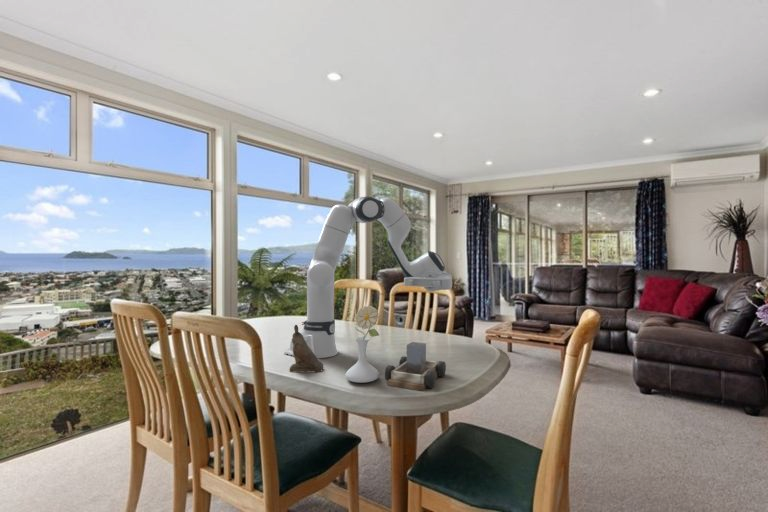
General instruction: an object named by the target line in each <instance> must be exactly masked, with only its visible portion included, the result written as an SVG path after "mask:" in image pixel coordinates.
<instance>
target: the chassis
mask: <svg viewBox="0 0 768 512" xmlns="http://www.w3.org/2000/svg"><path fill="white" fill-rule="evenodd" d="M398 364H399V365H398V366H397V367H395V366H394V365H391V364H388V365H387V366H386V367H385V371H384V379H385V381H386V382H387V386H390V387H391V386H392V387H396V388H403V389H409V390H413V391H414V390H415V391H420V392H421V391H422V392H425V390H427V388H430V389H433V388H434V386H435V383H436V379H437V378H438V377H443V378H444V377H445V375H446V372H447V371H446V370H447V367H446V366H447V365H446V362H445V361H443V360H438V361H435V360H427V359H426V371H425V372H424V373H423V374H422V375H419V374H412V373H407V356H405V355H403V356H401V357H400V358H399V363H398Z"/></svg>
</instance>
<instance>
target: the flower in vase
mask: <svg viewBox="0 0 768 512" xmlns="http://www.w3.org/2000/svg"><path fill="white" fill-rule="evenodd" d="M379 318H380V316H379V310H378V309H377V308H376V307H374V306H371V305H367V306H363V307H362V308H361V307H360V308H359V310H358V311H357V312H356V314H355V316H354V319H355V324H356V326H357V327H359V328H362V329H363V330H367V329H368V330H367V331H366V334H365V333H364V331H361V330H360V329H358V328H357V327H356V326H355V330H356V331H358V332H360V333H361V334H363V335H364V336H357V337H355V338H354V340H355V341H356V344H357V347H358V360H357V361H356V363H355V364H353V365H352V366H351V367H349V369H347V371H346V372H345V374H344V377H345V378H346V380H348V381H350V382H353V383H358V384H359V383H363V384H364V383H365V384H366V383H370V382H374V381H375V380H377V379H379V378H380V375H381V373H380V372H379V370H377V368H375V367H374V366H373V365H372V364H370V363H369V362H368V360H367V356H366V355H367V347H368V346H367V345H368V343H369V341H370V340H371V337H377V336H380V334H379V332H378V331H377V330H376V329H375V328H372V327H374V326H375V325H376V323H377V322H378V320H379ZM371 328H372V329H371ZM368 334H369V336H370V337H368V336H367V335H368Z"/></svg>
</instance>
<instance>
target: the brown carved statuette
mask: <svg viewBox="0 0 768 512" xmlns="http://www.w3.org/2000/svg"><path fill="white" fill-rule="evenodd" d="M293 329H294V332H293V334H292V338H291V340H292V342H293V354H294V356H293V357H294V360H295V362H294V363H293V364H292V365H290V367H289V371H321V370H323V371H324V369H323V368H324V364H323V363H322V361H320V359H319V358H317V357H316V356H315V354H314V353H313V352H312V350H311V349H310V348H309V347H308V345H307V343H306V341H305V339H304V337H303V335H302V334H301V333H299V332H300V331H299V326H298V325H297V324H295V325H294V327H293ZM321 372H322V371H321Z"/></svg>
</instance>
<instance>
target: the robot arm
mask: <svg viewBox="0 0 768 512" xmlns="http://www.w3.org/2000/svg"><path fill="white" fill-rule="evenodd" d="M375 221H378V222H380V224H382V225H381V226H383V228H384V229H385V230H386V233H387V235H388V237H387V244H388V247H389V248H390V251H391V252H392V255H393V256H394V258H395V260H396V262H397V264H398V266H399V267H400V269H401V271H402V274H403V275H404V278H403V286H405V287H422V288H424V289H425V290H426V291H428V292H436V291H441V290H442V291H443V290H446V291H447V290H452V288H453V276H452V274H450V273H448V271H446V269H445V268H446V267H445V266H446V265H445V263H444V260H443V259H442V258H441V256H440V254H438V253H436V252H434V251H427V252H425V253H423V254H422V255H421V256H419V257H417V258H415V259H413V261H409V259H408V258H407V256H406V255H405V252H404V251H403V249H402V244H403V243H404V241H405V240H406V238H407V237H408V235H409V234H410V232H411V226H412V223H411V219H409V216H408V215H407V214H406V213H405V212H404V210H403V208H401V207H400V206H399V205H398V203H397V202H396V201H394V200H393V199H392V198H391V197H389V196H387V197H382V198H380V199H377V198H375V197H373V196H360V197H357V198H355V199H353V200H351V201H350V202H349V203H348V204H347V205H344V204H341V203H340V204H335V205H334V206H332V207H331V209H330V211H329V213H327V216H326V219H325V221H324V224H323V226H322V229H321V232H320V235H319V237H318V241H317V243H316V246H315V248H314V252H313V255H312V258H311V260H310V263H309V265H308V268H307V270H306V320H305V321H302V322H301V326H303V329H302V330H300V331H298V332H299V333H301V334H302V335H303V337H304V339H305V341H306V343H307V345H308V347H309V348H310V349H311V350H312V352H313V353H314V354H315V356H316V357H317V358H318V359H325V358H331V357H333V356H336V355H337V354H338V353H339V352H338V348H337V343H336V337H335V332H336V331H335V329H336V319H335V317H334V316H335V306H334V305H335V303H334V302H335V272H336V269H337V266H338V263H339V261H340V258H341V256H342V254H343V251H344V249H345V245H346V243H347V240H348V238H349V234H350V230H351V228H352V226H353V225H354V223H356V224H357V223H358V224H359V223H361V224H366V223H367V224H368V223H372V222H375ZM283 353H284V355H287V354H288V355H289V356H291V355H292V356H293V357H294V354H293V342H292V339H291V341H290V345H289V348H287V349H285V350H284V352H283ZM288 355H287V356H288ZM292 356H291V357H292Z"/></svg>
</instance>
